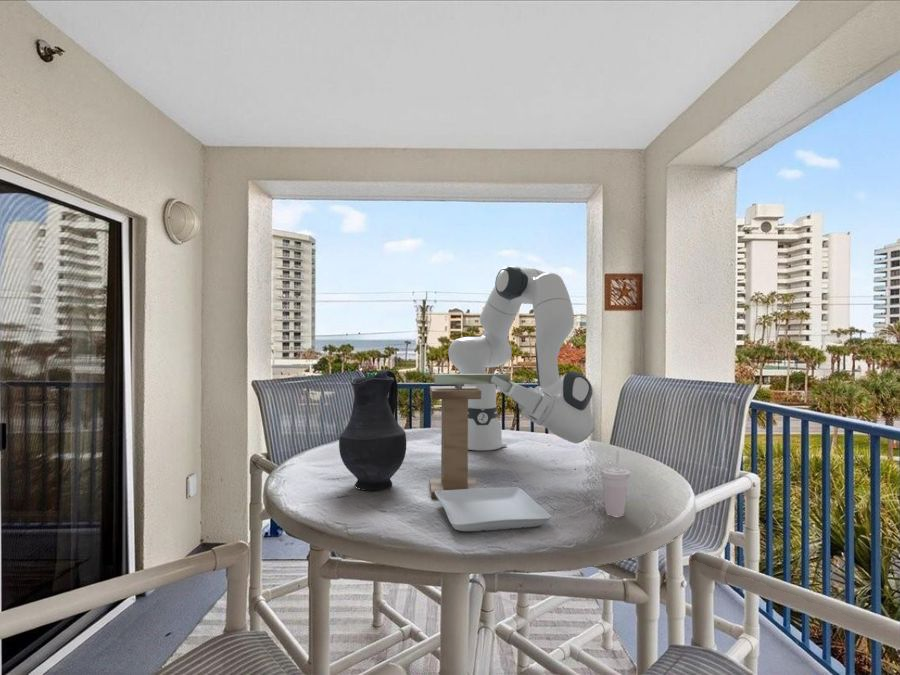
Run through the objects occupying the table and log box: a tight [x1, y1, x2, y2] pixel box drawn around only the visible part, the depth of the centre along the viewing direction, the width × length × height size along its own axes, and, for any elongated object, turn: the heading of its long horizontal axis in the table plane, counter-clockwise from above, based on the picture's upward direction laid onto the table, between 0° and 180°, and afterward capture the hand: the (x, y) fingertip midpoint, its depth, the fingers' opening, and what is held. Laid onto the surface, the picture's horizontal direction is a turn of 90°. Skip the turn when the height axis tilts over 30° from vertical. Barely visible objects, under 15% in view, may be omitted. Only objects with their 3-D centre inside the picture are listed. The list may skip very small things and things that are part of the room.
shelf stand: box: [428, 383, 481, 499], centre depth 131 cm, size 12×12×28 cm
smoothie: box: [599, 450, 631, 516], centre depth 114 cm, size 6×6×14 cm
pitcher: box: [338, 369, 407, 491], centre depth 136 cm, size 17×21×30 cm
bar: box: [433, 373, 510, 385], centre depth 131 cm, size 2×19×2 cm, turn 95°
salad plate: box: [435, 486, 552, 532], centre depth 113 cm, size 21×21×3 cm
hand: (490, 377), depth 132 cm, fingers closed on bar, 2 cm apart
